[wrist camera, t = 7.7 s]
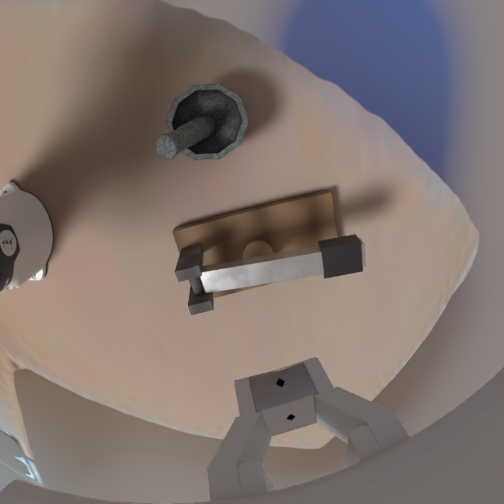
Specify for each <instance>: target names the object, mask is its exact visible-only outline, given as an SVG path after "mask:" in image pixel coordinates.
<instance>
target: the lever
mask: <svg viewBox="0 0 504 504" xmlns="http://www.w3.org/2000/svg"><path fill="white" fill-rule="evenodd" d="M363 266H366V262H365V244H364V243H363V241H362V240H361V239H360V238H358V237H357V236H356V234H354V235H349V236H343V237H338V238H332V239H326V240H321V241H318V246H313V247H308V248H302V249H297V250H291V251H285V252H280V253H274V254H268V255H263V256H257V257H251V258H246V259H240V260H234V261H228V262H223V263H217V264H211V265H205V266H203V268H202V276H200V277H201V280H202V283H203V286H204V289H205V292H206V293H209V292H216V291H223V290H229V289H236V288H243V287H249V286H255V285H261V284H268V283H274V282H280V281H286V280H292V279H297V278H303V277H309V276H314V275H320V274H323V275H324V278H330V277H335V276H340V275H346V274H351V273H356V272H361V271H363Z"/></svg>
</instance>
